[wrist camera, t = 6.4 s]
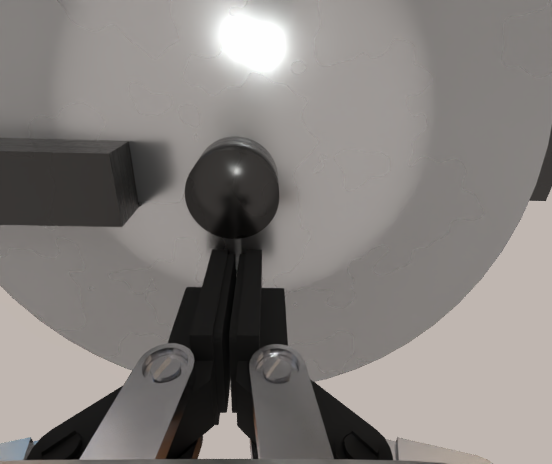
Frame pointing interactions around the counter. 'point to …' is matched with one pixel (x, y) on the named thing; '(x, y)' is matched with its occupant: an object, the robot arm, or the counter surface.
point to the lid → (265, 160)
